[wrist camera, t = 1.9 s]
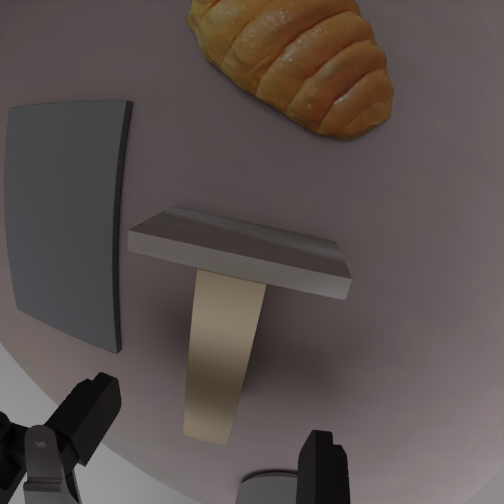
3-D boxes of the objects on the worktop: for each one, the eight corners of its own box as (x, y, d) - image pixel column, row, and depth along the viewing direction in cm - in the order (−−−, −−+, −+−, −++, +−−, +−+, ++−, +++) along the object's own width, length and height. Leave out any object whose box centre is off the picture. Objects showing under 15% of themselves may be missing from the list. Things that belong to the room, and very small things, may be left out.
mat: (22, 305, 18) (17, 308, 18) (16, 108, 13) (10, 108, 13) (121, 349, 18) (117, 354, 17) (132, 102, 13) (126, 100, 12)
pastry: (415, 95, 11) (452, 81, 8) (308, 173, 13) (315, 182, 10) (286, -35, 9) (283, -77, 6) (182, 35, 12) (150, 7, 8)
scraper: (282, 400, 18) (278, 456, 13) (162, 370, 18) (135, 419, 14) (335, 241, 14) (352, 280, 10) (172, 207, 14) (127, 230, 10)
